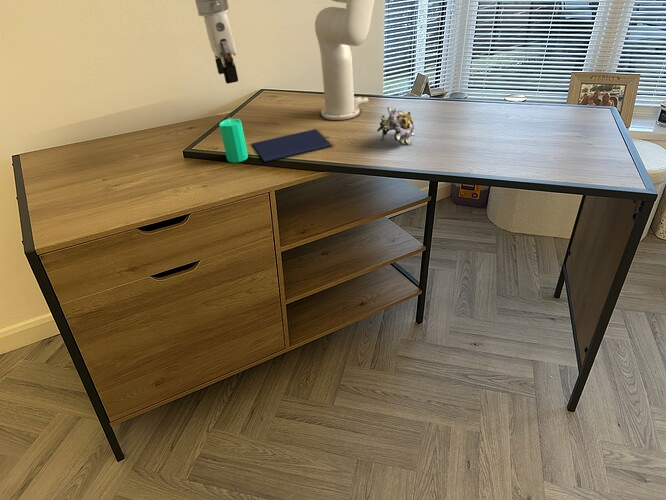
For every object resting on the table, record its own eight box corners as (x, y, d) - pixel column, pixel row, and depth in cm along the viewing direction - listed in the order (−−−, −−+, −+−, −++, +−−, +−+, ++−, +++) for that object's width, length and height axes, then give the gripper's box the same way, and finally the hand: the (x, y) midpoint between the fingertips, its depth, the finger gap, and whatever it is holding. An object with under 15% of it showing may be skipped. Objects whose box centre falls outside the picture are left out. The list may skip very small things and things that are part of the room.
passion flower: (406, 161, 138) (406, 139, 127) (371, 150, 141) (367, 128, 129) (419, 128, 140) (420, 104, 129) (384, 118, 143) (382, 94, 132)
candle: (243, 162, 133) (235, 121, 126) (223, 162, 134) (214, 121, 127) (251, 153, 138) (243, 112, 131) (231, 153, 139) (222, 112, 132)
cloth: (315, 130, 148) (315, 128, 148) (331, 146, 137) (331, 144, 137) (252, 144, 143) (252, 142, 143) (264, 162, 132) (264, 160, 132)
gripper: (235, 8, 111) (249, 83, 121) (220, -1, 124) (234, 67, 134) (203, 14, 109) (220, 89, 119) (191, 4, 122) (208, 72, 133)
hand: (228, 77), depth 127 cm, fingers open, 9 cm apart
